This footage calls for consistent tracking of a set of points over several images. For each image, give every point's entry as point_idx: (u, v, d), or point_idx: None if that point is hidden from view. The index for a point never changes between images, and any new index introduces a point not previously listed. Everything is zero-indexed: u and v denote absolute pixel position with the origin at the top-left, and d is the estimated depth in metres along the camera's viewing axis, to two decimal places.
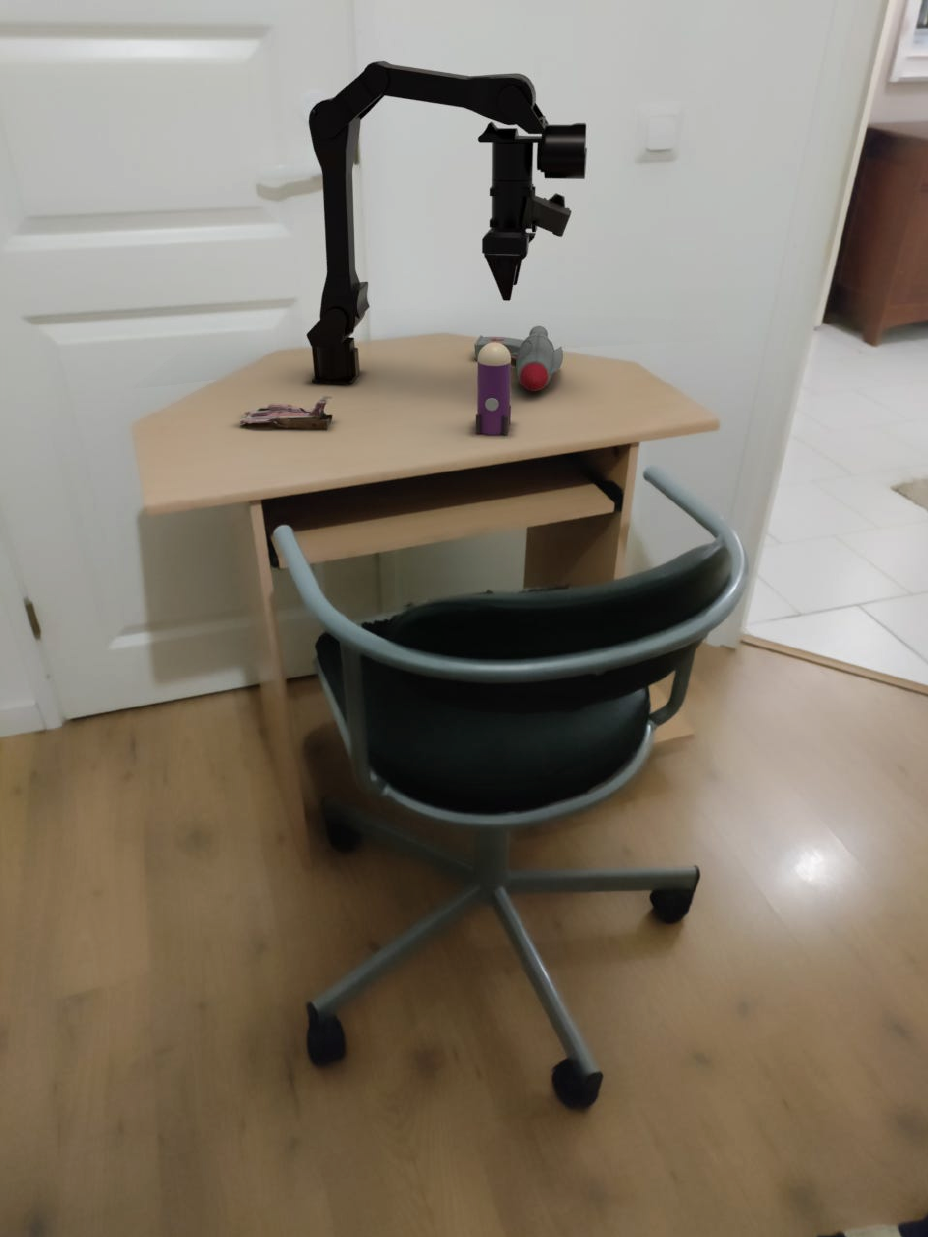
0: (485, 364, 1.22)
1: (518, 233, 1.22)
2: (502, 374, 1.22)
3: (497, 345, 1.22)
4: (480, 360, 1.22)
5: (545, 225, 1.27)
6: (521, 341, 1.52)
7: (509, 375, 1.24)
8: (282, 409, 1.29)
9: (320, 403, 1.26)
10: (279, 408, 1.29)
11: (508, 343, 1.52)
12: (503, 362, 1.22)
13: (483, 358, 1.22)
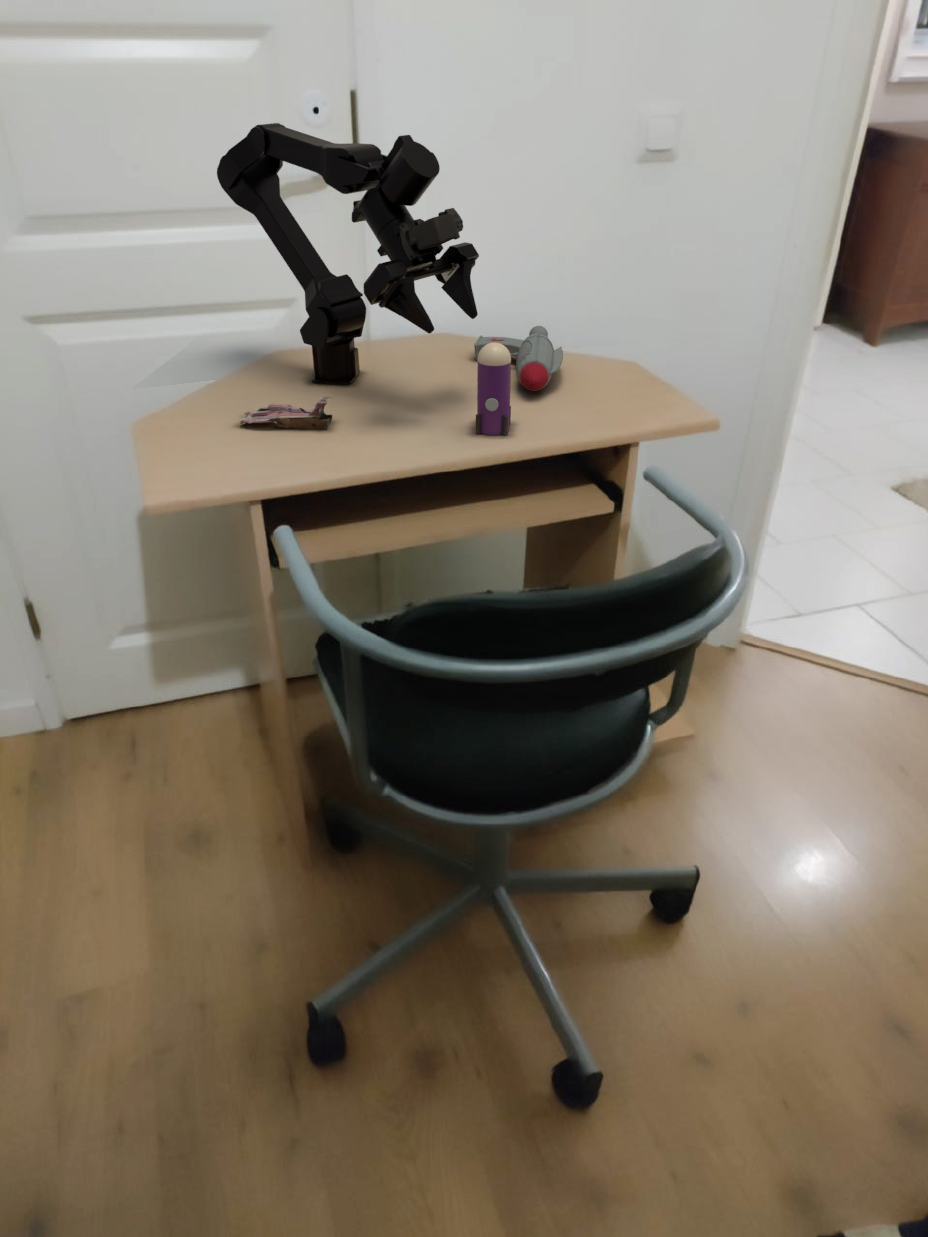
0: (485, 364, 1.22)
1: (378, 265, 1.19)
2: (502, 374, 1.22)
3: (497, 345, 1.22)
4: (480, 360, 1.22)
5: (423, 242, 1.20)
6: (521, 341, 1.52)
7: (509, 375, 1.24)
8: (282, 409, 1.29)
9: (320, 403, 1.26)
10: (279, 408, 1.29)
11: (508, 343, 1.52)
12: (503, 362, 1.22)
13: (483, 358, 1.22)
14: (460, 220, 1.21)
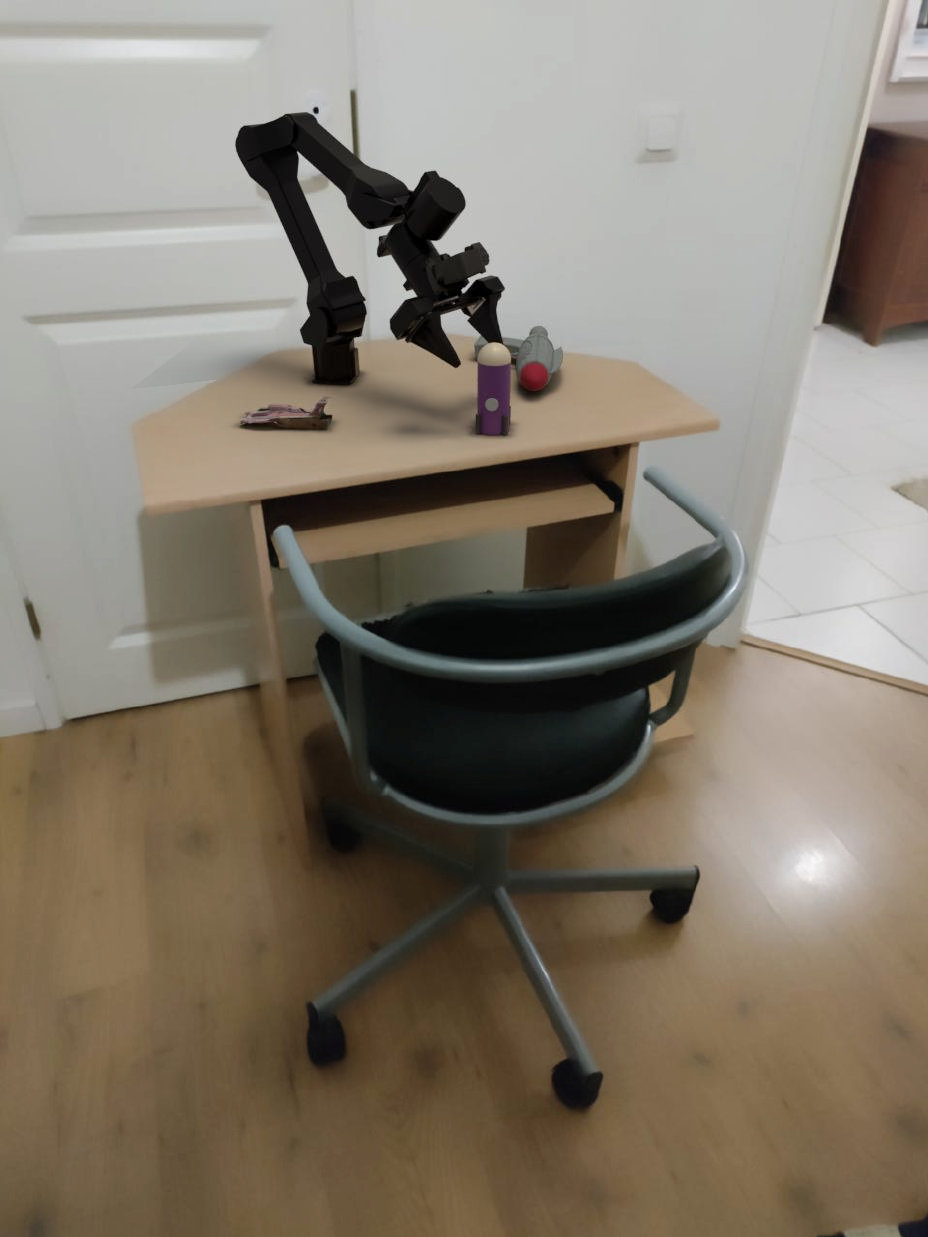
0: (485, 364, 1.22)
1: (404, 301, 1.18)
2: (502, 374, 1.22)
3: (497, 345, 1.22)
4: (480, 360, 1.22)
5: (449, 277, 1.19)
6: (521, 341, 1.52)
7: (509, 375, 1.24)
8: (282, 409, 1.29)
9: (320, 403, 1.26)
10: (279, 408, 1.29)
11: (508, 343, 1.52)
12: (503, 362, 1.22)
13: (483, 358, 1.22)
14: (486, 254, 1.20)
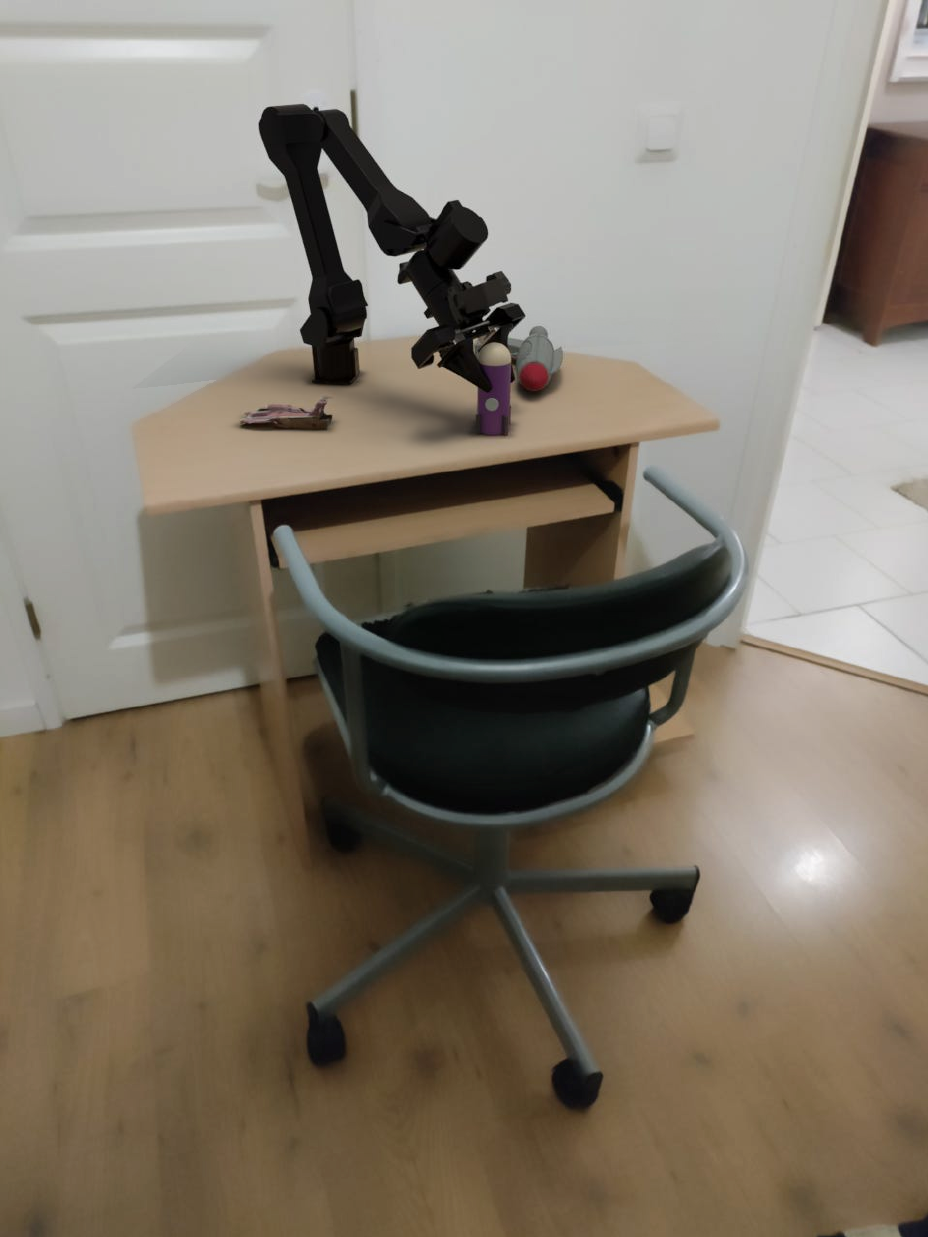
0: (486, 364, 1.22)
1: (426, 331, 1.17)
2: (502, 374, 1.22)
3: (497, 345, 1.22)
4: (480, 360, 1.22)
5: (471, 307, 1.19)
6: (521, 341, 1.52)
7: (509, 375, 1.24)
8: (282, 409, 1.29)
9: (320, 403, 1.26)
10: (279, 408, 1.29)
11: (508, 343, 1.52)
12: (503, 362, 1.22)
13: (483, 358, 1.22)
14: (508, 284, 1.20)
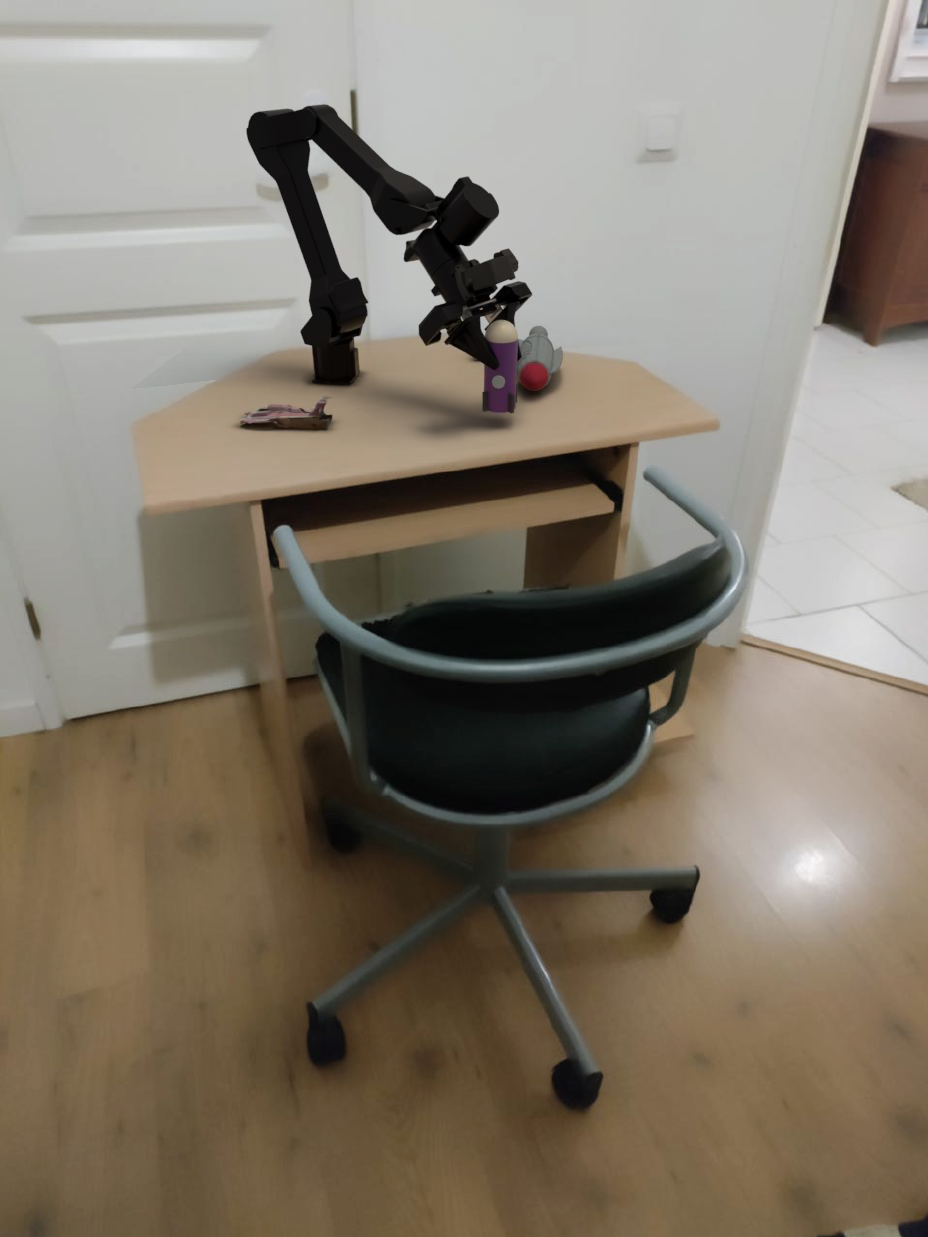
0: (493, 341, 1.22)
1: (434, 307, 1.18)
2: (509, 351, 1.23)
3: (504, 322, 1.22)
4: (487, 337, 1.23)
5: (479, 284, 1.20)
6: (521, 341, 1.52)
7: (516, 353, 1.24)
8: (282, 409, 1.29)
9: (320, 403, 1.26)
10: (279, 408, 1.29)
11: None
12: (510, 339, 1.22)
13: (490, 335, 1.22)
14: (516, 261, 1.21)
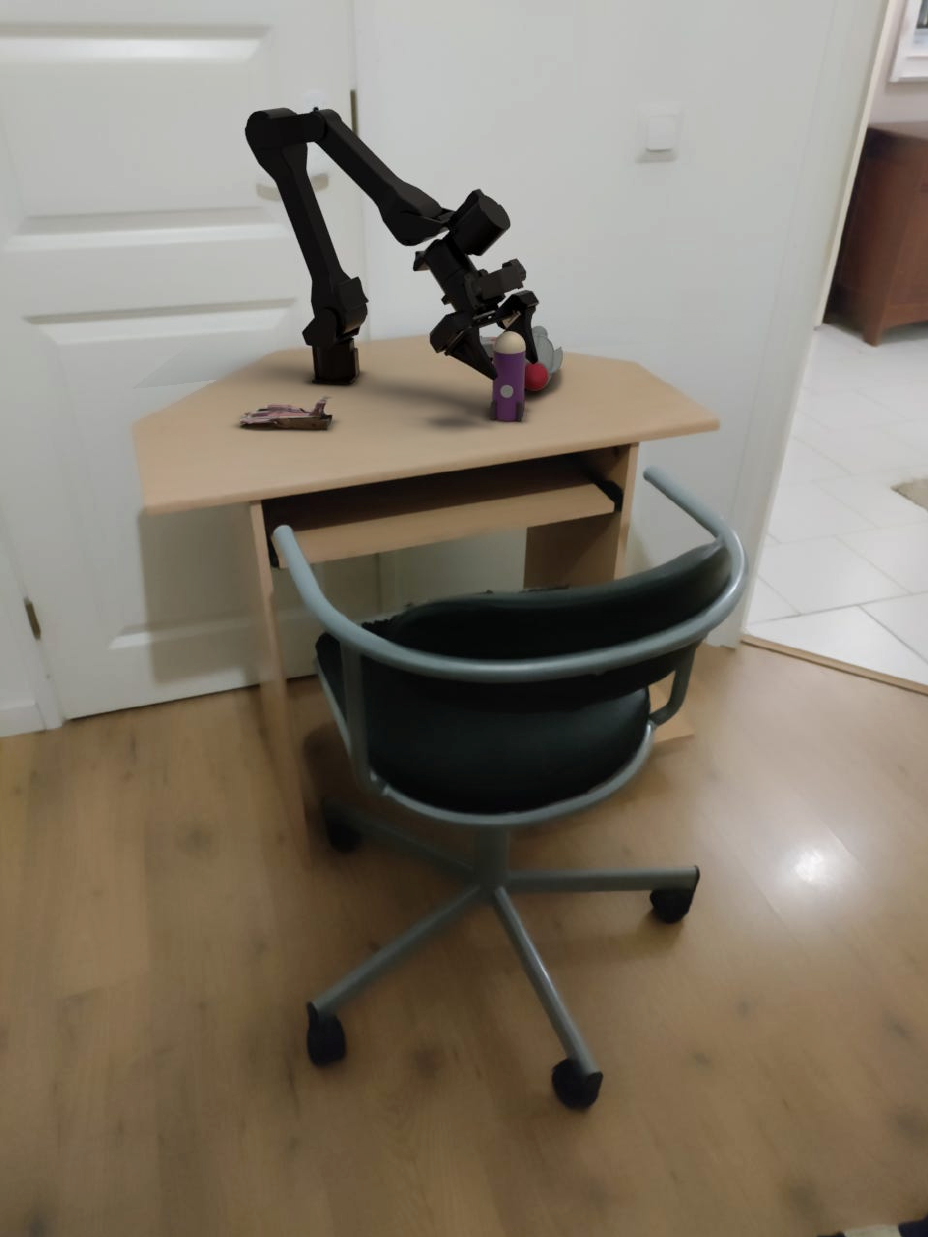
0: (501, 352, 1.26)
1: (445, 316, 1.22)
2: (517, 362, 1.27)
3: (512, 333, 1.26)
4: (495, 348, 1.27)
5: (488, 293, 1.23)
6: None
7: (523, 363, 1.28)
8: (282, 409, 1.29)
9: (320, 403, 1.26)
10: (279, 408, 1.29)
11: None
12: (518, 350, 1.26)
13: (499, 346, 1.26)
14: (524, 270, 1.24)
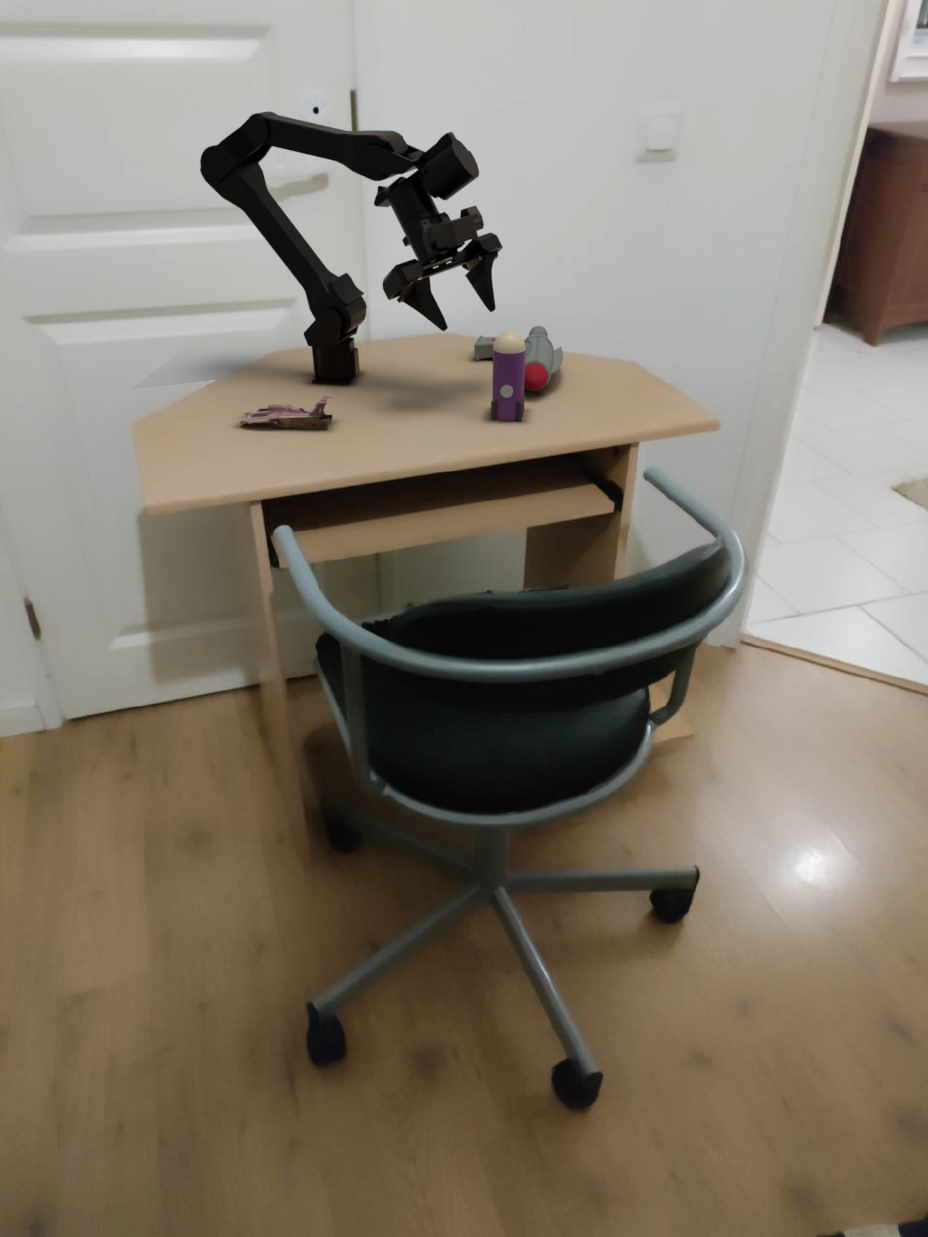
0: (501, 352, 1.26)
1: (395, 266, 1.23)
2: (517, 362, 1.27)
3: (512, 333, 1.26)
4: (495, 348, 1.27)
5: (441, 243, 1.24)
6: None
7: (523, 363, 1.28)
8: (282, 409, 1.29)
9: (320, 403, 1.26)
10: (279, 408, 1.29)
11: None
12: (518, 350, 1.26)
13: (499, 346, 1.26)
14: (480, 221, 1.24)
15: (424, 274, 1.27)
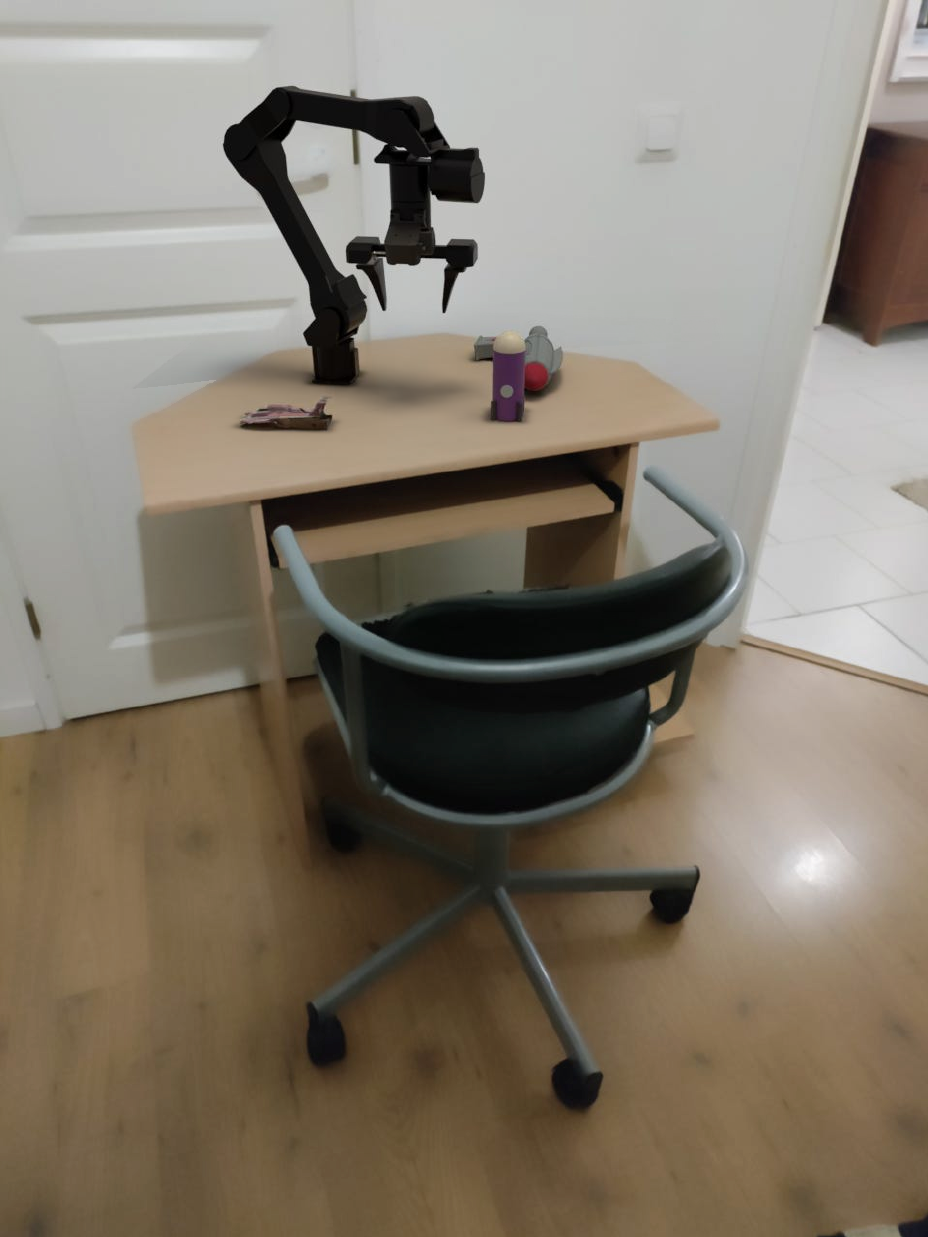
0: (501, 352, 1.26)
1: (349, 242, 1.30)
2: (517, 362, 1.27)
3: (512, 333, 1.26)
4: (495, 348, 1.27)
5: None
6: None
7: (523, 363, 1.28)
8: (282, 409, 1.29)
9: (320, 403, 1.26)
10: (279, 408, 1.29)
11: None
12: (518, 350, 1.26)
13: (499, 346, 1.26)
14: (422, 252, 1.24)
15: (385, 255, 1.32)
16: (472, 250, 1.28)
